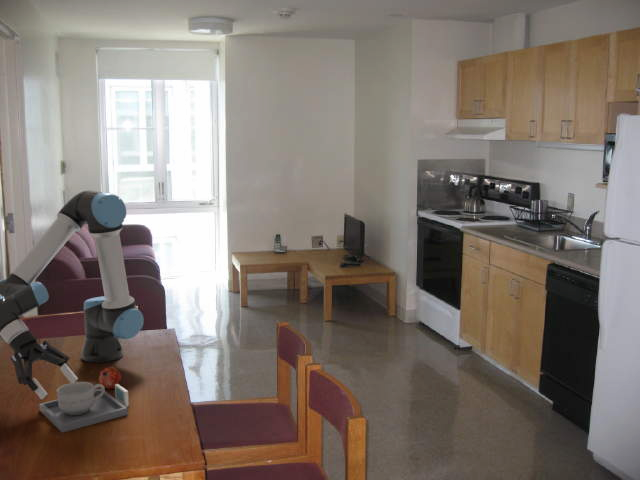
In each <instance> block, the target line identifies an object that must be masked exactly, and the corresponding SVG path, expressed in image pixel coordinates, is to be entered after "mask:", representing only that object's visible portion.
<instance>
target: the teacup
mask: <svg viewBox="0 0 640 480" xmlns="http://www.w3.org/2000/svg"><path fill="white" fill-rule="evenodd" d="M98 388H99V389H102V391H101V393H100V394H99V395H98V396H96V397H94V393H95V390H97V389H98ZM105 389H106V388H105V387H104V386H103V385H101V384H100V383H97V384H95V385H94V384H93V383H91V382H87V381H75V382H74V383H70V382H69V383H66V384H63V385H60V386H59V387H58V388H56V393H57V394H56V395H57V399H58V405H59V408H60V410H61V411H62V412H64V413H65V414H67V415H79V414H83V413H85V412H87V411H88V410H89V409H90V408H91V407H92V406H93V403H95V402H96V400H98V399H99V398H100V397H101V396H102V395H103V394H104V392H105V391H106V390H105Z"/></svg>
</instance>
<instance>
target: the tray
mask: <svg viewBox="0 0 640 480" xmlns="http://www.w3.org/2000/svg"><path fill="white" fill-rule="evenodd" d="M101 391H102V389H101V388H99V389H98V388H97V389H96V390H95V393H94V397H96V396H98V395H99V394H100V393H101ZM38 406H39V412H40V413H42V415H44V417H46V419H48V420H49V422H51V424H52V425H53V426H54V427H56V428H57V430H59V431H60V432H61V433H66V432H71V431H73V430H76V429H81V428H85V427H88V426H91V425H95V424H98V423H101V422H102V423H103V422H106V421H109V420H113V419H117V418H121V417H125V416H127V415H129V414H128V413H129V412H128V406H127V407H125V406H124V405H123V404H121V403H120V402H119V401H118V400H116V399H115V396H112V395H111V394H109V393H108V392H107V391H106V390H105V392H104V394H103V395H102V396H101V397H100V398H99V399H98V400H96V402H95V403H93V406H92V407H91V408H90V409H89V410H88V411H87V412H85V413H83V414H79V415H67V414H65V413H64V412H62V411H61V410H60V408H59V405H58V398H57V399H55V400H51V401H50V400H49V401H46V402H45V401H44V402H41V403H39V405H38Z"/></svg>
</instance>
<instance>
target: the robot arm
mask: <svg viewBox="0 0 640 480" xmlns="http://www.w3.org/2000/svg"><path fill="white" fill-rule="evenodd" d="M126 217H127V207H126V204H125V202H124V200H123V199H122V198H121V197H119V196H118V195H117V194H114V193H111V192H107V191H95V190H84V191H81V192H79V193H77V194H75V195H74V196H73V197H72V198H70V199H69V200H68V201H67V202H66V203H65V204H64V205H63V206H62V208H60V210H59V211H58V212H57V213H56V219H55V220H54V222H53V223H52V224H51V225H50V227H48V228H47V230H46V231H45V232H44V233H43V235H42V236H41V237H40V238H39V239H38V241H37V242H36V243H35V244H34V246H33V247H32V248H31V249H30V250H29V251H28V252H27V254H26V255H25V256H24V257H23V258H22V260H21V261H20V262H19V263H18V264H17V266H16V267H15V268H14V269H13V270H12V272H11V273H10V274H9V275H8V277H6V278H4V279H0V336H1V337H2V339H3V340H4V341H5V343H7V344H8V347H10V349H11V350H12V352H14V353H13V354H12V355H11V357H10V360H11V362H12V364H13V366H14V371H15V374H16V379H17V383H18V384H19V385H22V384H23V385H24V386H26V385H27V386H28V388H30V389H31V391H32V392H34V393H35V394H36V395H37V396H38V397H39V399H40V400H41V401H43V400H44V399H45V398H46V397H47V396H48V392H47V391H46V390H45V389H44V386H42V384H41V383H40V381H38V380H37V378H36V377H33V363H34V362H38V361H39V360H40V361H46V362H48V363H50V364H53V365H56V366H58V367H60V368H59V370H60V371H61V372H62V373H63V375H64V376H65V378H66V379H67V380H68V381H69V384H70V383H75V382H77V380H78V379H79V377H78V376H77V375H76V374H75V373H74V372H73V369H72V367H71V366H70V365H69V364H68V362H69V360H70V357H69V356H68V355H66V354H65V353H63V352H61V350H58V349H56V348H55V347H54V346H52V345H50V343H49V342H48V341H46V340H44V341H43V342H42V343H38V341H37V337H36V335H34V333H33V332H32V331H31V330H29V327H28V326H27V325H26V324H25V322H24V321H23V320H22V318H21V317H22V316H23V315H25V314H27V313H29V312H31V311H32V310H34V309H36V308H38V307H40V306H41V305H43V304H44V303H46V302H48V300H49V297H50V296H49V292H48V290H47V288H46V286H45V285H44V284H43V283H42V282H40V281H35V280H36V279H37V278H38V277H39V276H40V275H41V274H42V272H43V271H44V269H46V267H47V266H48V265H49V263H50V262H51V261H52V260H53V259H54V257H55V256H57V254H58V252H60V250H61V249H62V248H63V246H64V245H65V244H66V243H67V242H68V240H69V239H70V238H71V237H72V236H73V235H74V234H75V233H76V232H79V231H81V229H82V228H83V227H84V226H86V225H87V228H88V229H87V230H88V233H89V234H90V236H93V237H94V242H95V244H94V245H95V249H96V254H97V259H98V265H99V266H98V267H99V271H100V277H101V283H102V290H103V294H104V296H103V295H101V296H97V297H92V298H89V299H86V300H85V301H84V302H83V320H84V333H85V334H84V335H85V337H84V343H83V346H82V349H81V354H80V355H81V360H83V361H84V362H87V363H95V364H96V363H97V364H98V363H107V362H112V361H115V360H118V359H120V358H122V357H123V355H124V352H123V351H124V350H123V346H122V343H121V342H120V340H121V339H122V340H130V339H133V338H135V337H136V336H137V335H138V334H139V333H140V331H141V330H142V328H143V326H144V315H143V313H142V312H141V311H140V310H139V308H137V307H136V306H137V305H136V301H135V298H134V297H133V296H131V295H130V291H129V285H128V279H127V274H126V273H127V272H126V266H125V260H124V255H123V253H124V252H123V249H122V242H121V236H120V233H121V231H122V230H123V228H124V227H123V223H124V221H125V218H126Z"/></svg>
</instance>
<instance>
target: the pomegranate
mask: <svg viewBox="0 0 640 480" xmlns="http://www.w3.org/2000/svg"><path fill="white" fill-rule="evenodd" d="M121 379H122V375H121V373H120V371H119V370H118V369H117V368H116V367H115V366H108V367H105V368H104V369H103V370H100V373H99V376H98V382H99V384H101V385H103V386H104V388H105V389H110V390H111V389H115V384H119V383H120V381H121Z"/></svg>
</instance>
